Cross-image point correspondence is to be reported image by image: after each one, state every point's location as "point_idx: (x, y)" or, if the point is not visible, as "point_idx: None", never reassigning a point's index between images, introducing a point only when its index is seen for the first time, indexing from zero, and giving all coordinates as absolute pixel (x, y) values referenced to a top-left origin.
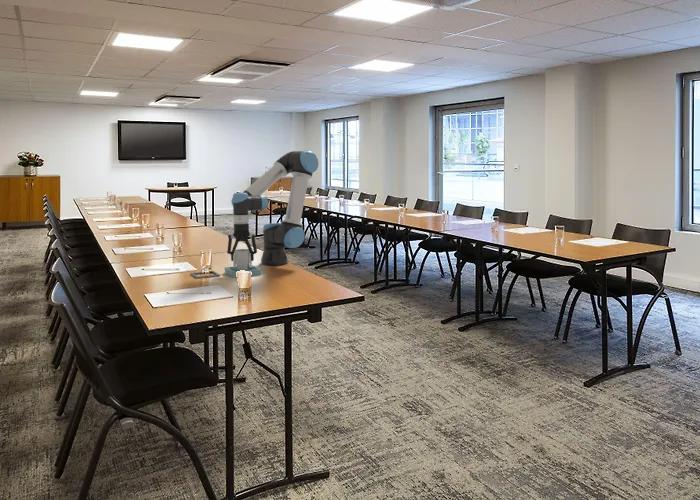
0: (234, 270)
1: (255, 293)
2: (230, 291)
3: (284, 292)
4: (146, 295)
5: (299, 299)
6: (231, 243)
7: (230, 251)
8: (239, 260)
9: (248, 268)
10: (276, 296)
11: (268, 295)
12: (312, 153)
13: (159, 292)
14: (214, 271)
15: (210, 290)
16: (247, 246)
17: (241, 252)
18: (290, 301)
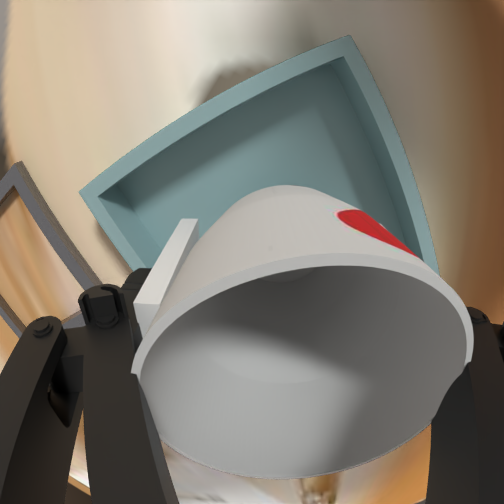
0: (174, 144)
1: (347, 494)
2: (276, 494)
3: (419, 475)
4: (78, 480)
5: (425, 491)
6: (12, 492)
7: (72, 371)
8: (265, 373)
9: (312, 69)
10: (391, 494)
11: (376, 495)
12: None
13: (83, 473)
14: (27, 187)
15: (209, 488)
16: (432, 486)
17: (305, 464)
18: (405, 500)
